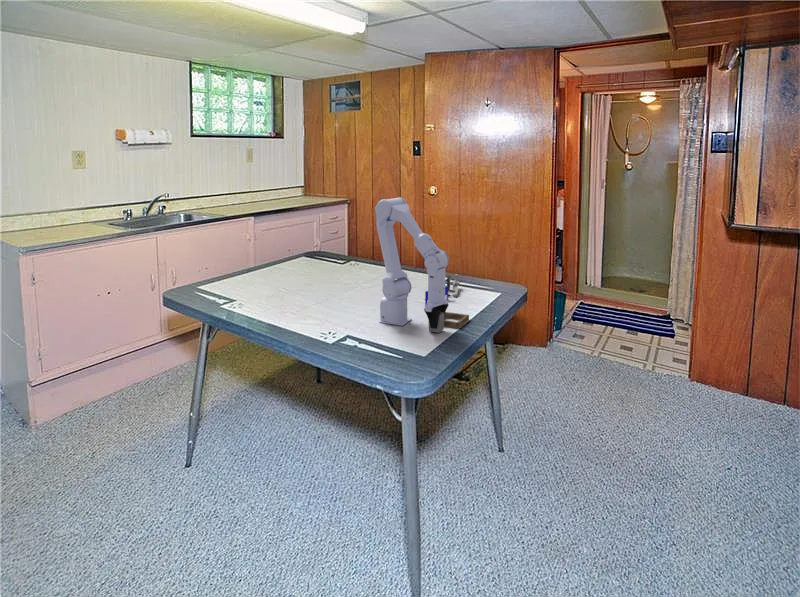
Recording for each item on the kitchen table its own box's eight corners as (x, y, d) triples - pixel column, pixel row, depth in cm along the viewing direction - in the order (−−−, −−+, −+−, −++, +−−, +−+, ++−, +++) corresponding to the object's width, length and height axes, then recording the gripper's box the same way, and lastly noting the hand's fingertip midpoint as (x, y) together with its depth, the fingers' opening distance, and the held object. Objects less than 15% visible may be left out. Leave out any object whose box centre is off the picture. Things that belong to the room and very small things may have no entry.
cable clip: (434, 308, 209) (434, 293, 208) (425, 306, 212) (425, 291, 210) (451, 300, 218) (451, 286, 217) (442, 299, 221) (442, 285, 219)
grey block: (428, 331, 182) (428, 314, 181) (433, 327, 186) (433, 310, 184) (439, 332, 180) (439, 315, 179) (443, 329, 184) (444, 312, 182)
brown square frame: (432, 324, 190) (432, 319, 189) (443, 316, 199) (443, 311, 198) (459, 328, 186) (459, 323, 185) (468, 320, 194) (469, 314, 194)
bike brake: (430, 285, 238) (424, 305, 221) (430, 271, 235) (424, 290, 218) (461, 286, 236) (458, 306, 218) (461, 272, 233) (458, 291, 215)
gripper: (439, 294, 171) (438, 334, 175) (455, 283, 183) (455, 321, 187) (419, 292, 174) (419, 331, 178) (436, 281, 186) (436, 318, 190)
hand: (436, 326), depth 183 cm, fingers closed on grey block, 4 cm apart
